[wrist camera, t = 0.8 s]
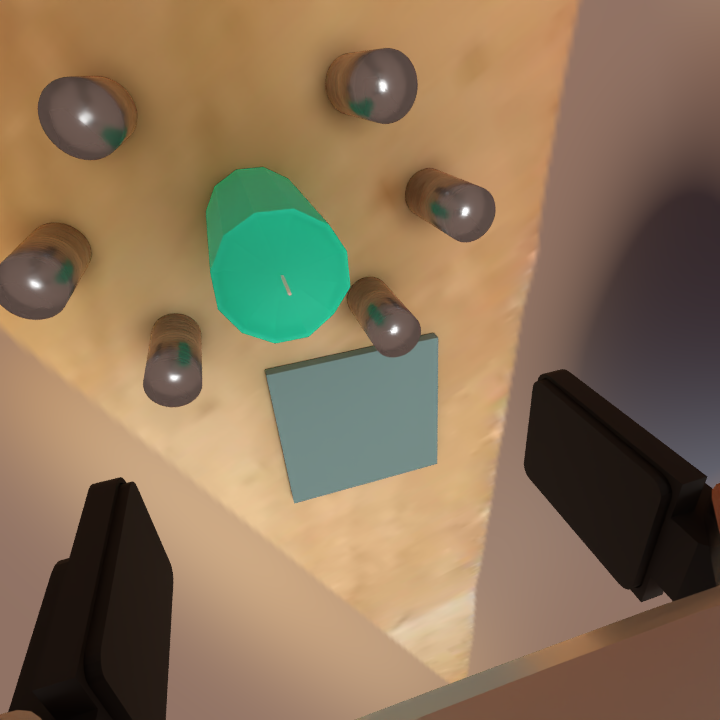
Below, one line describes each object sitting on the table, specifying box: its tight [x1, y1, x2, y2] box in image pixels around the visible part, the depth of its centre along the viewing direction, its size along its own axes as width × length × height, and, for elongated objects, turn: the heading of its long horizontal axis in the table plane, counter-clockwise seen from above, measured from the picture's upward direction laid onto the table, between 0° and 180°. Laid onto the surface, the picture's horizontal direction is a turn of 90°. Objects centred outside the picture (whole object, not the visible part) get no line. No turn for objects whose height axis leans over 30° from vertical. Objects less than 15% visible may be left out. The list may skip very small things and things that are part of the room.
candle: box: [206, 167, 350, 343], centre depth 24 cm, size 6×6×12 cm
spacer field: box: [0, 48, 495, 407], centre depth 27 cm, size 16×25×6 cm, turn 96°
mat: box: [265, 333, 438, 503], centre depth 39 cm, size 13×13×1 cm
